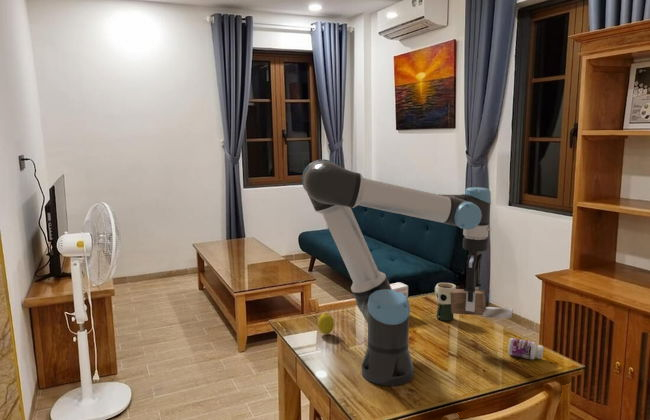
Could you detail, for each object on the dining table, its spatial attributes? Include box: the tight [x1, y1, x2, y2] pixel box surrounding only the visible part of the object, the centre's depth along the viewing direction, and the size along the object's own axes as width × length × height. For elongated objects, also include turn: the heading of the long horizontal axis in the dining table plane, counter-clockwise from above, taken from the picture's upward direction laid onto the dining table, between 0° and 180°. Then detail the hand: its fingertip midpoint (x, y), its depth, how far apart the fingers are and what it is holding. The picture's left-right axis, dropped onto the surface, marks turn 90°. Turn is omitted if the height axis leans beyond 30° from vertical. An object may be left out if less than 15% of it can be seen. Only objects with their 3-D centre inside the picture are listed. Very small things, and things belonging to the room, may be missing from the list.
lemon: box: [317, 312, 335, 336], centre depth 171 cm, size 6×6×8 cm
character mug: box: [434, 282, 457, 321], centre depth 185 cm, size 11×7×13 cm, turn 32°
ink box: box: [389, 281, 409, 300], centre depth 189 cm, size 8×5×12 cm, turn 123°
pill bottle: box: [507, 337, 544, 360], centre depth 154 cm, size 5×5×10 cm
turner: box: [450, 288, 514, 319], centre depth 158 cm, size 18×7×7 cm, turn 63°
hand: (471, 308), depth 159 cm, fingers closed on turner, 4 cm apart
